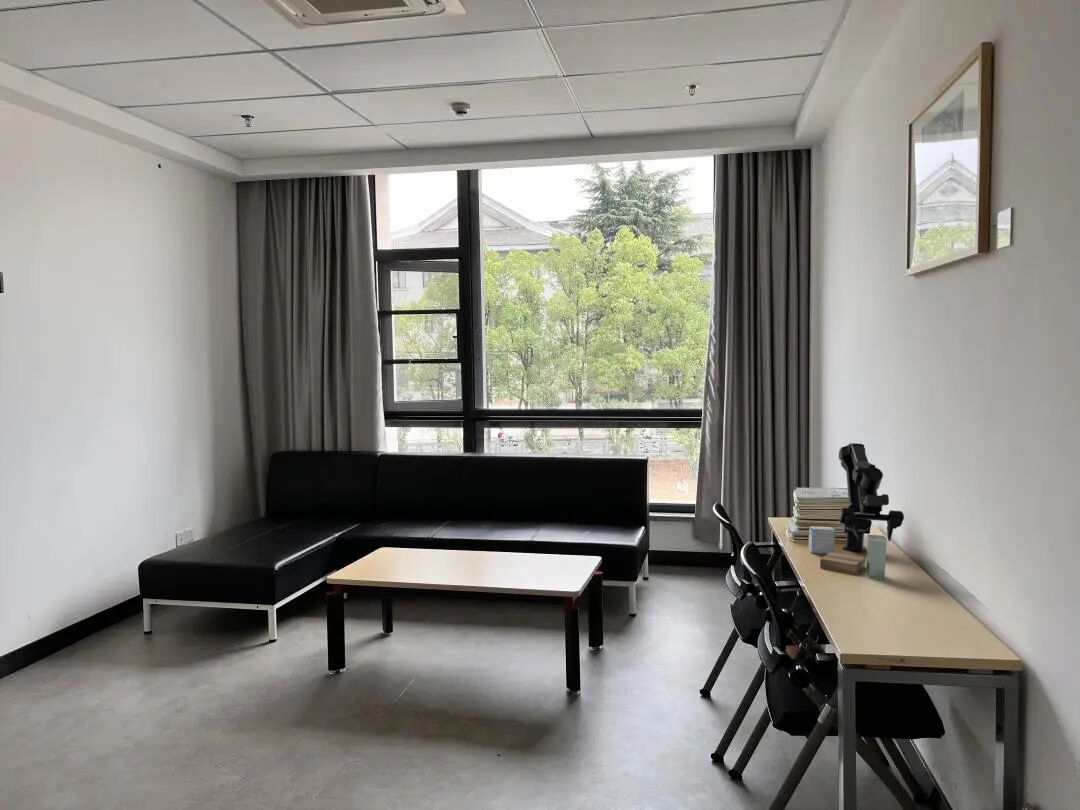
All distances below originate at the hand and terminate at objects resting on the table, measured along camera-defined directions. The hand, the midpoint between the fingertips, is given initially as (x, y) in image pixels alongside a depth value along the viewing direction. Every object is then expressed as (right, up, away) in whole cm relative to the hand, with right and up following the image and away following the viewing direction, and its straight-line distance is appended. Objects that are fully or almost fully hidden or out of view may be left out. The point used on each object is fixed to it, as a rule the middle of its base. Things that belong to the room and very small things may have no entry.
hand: (874, 539), depth 244 cm
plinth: (-7, -10, +7) cm, 14 cm away
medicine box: (-8, -9, +25) cm, 27 cm away
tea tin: (-1, -11, -3) cm, 11 cm away
